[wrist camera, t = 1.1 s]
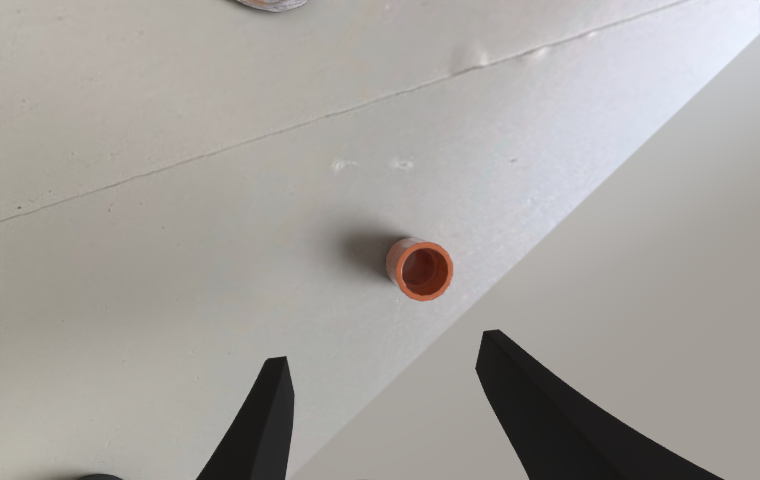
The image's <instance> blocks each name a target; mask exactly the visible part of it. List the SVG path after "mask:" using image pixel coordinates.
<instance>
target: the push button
mask: <svg viewBox="0 0 760 480" xmlns="http://www.w3.org/2000/svg"><path fill="white" fill-rule="evenodd" d="M78 480H122V479H119V478H117V477H114V476H110V475H91V476H87V477H83V478H81V479H78Z"/></svg>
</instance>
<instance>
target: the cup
mask: <svg viewBox="0 0 760 480" xmlns="http://www.w3.org/2000/svg"><path fill="white" fill-rule="evenodd" d="M385 264H386V272H387V274H388V276H389V278H390V279H391V280H392V281H393V282H394V284H395V285H396V286H397V287H398V288H399V289H400V290H401V291H402V292H403V293H404V294H406V295H407V296H408V297H409V298H411V299H414V300H418V301H428V300H433V299H435V298H437V297H438V296H440V295H442V294H443V293H444V292H445V290H446V289H447V288H448V287H449V285H450V283H451V280H452V277H453V263H452V260H451V258H450V256H449V254H448V252H447V251H445V250H444V249H443V248H442V247H441V246H439V245H437V244H434V243H431V242H428V241H424V240H421V239H417V238H405V239H402V240H400V241H398V242H396V243H395V244H394V245H393V246H392V247H391V249H390V250H389V252H388V254H387V257H386V261H385Z"/></svg>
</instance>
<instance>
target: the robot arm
mask: <svg viewBox="0 0 760 480" xmlns="http://www.w3.org/2000/svg"><path fill="white" fill-rule="evenodd" d="M475 369H476V371H477V374H478V377H479V379H480V382H481V385H482V387H483V389H484V392H485V394H486V396H487V399H488V401H489V402H490V404H491V406H492V408H493V410H494V412H495V414H496V416H497V418H498V419H499V422H500V423H501V425H502V427H503V429H504V431H505V433H506V435H507V436H508V438H509V440H510V442H511V444H512V446H513V448H514V449H515V451H516V453H517V455H518V457H519V459H520V461H521V463H522V465H523V467H524V469H525V471H526V473H527V475H528V477H529V480H724V479H722V478H720V477H718V476H716V475H714V474H712V473H710V472H708V471H707V470H705V469H703V468H701V467H699V466H697V465H695V464H693V463H691V462H690V461H688V460H686V459H684V458H682V457H680V456H678V455H677V454H675V453H673V452H671V451H670V450H668V449H666V448H665V447H663V446H661V445H659V444H658V443H656V442H654V441H653V440H651V439H649V438H647V437H646V436H644V435H642V434H641V433H639V432H637V431H636V430H634V429H633V428H631V427H629V426H628V425H626V424H625V423H623V422H621V421H620V420H618V419H617V418H615V417H614V416H612V415H611V414H609V413H608V412H606V411H604V410H603V409H602V408H600V407H599V406H597V405H596V404H594V403H593V402H591V401H590V400H588V399H587V398H586V397H584V396H583V395H581V394H580V393H579V392H577V391H576V390H575V389H573V388H572V387H570V386H569V385H568V384H566V383H565V382H564V381H562V380H561V379H560V378H558V377H557V376H556V375H555V374H553V373H552V372H551V371H550V370H548V369H547V368H546V367H544V366H543V365H542V364H541V363H539V362H538V361H537V360H536V359H534V358H533V357H532V356H531V355H529V354H528V353H527V352H526V351H525V350H523V349H522V348H521V347H520V346H519V345H517V344H516V343H515V342H514V341H513V340H511V339H510V338H509V337H508V336H506V335H505V334H504V333H503V332H501V331H500V330H490V331H484V332H483V336H482V341H481V345H480V350H479V354H478V359H477V363H476V368H475ZM293 415H294V390H293V385H292V380H291V376H290V371H289V366H288V362H287V357H286V356H284V357H276V358H268V359H267V360H266V361H265V363H264V365H263V367H262V369H261V371H260V373H259V375H258V377H257V379H256V381H255V383H254V385H253V387H252V389H251V391H250V393H249V394H248V396H247V398H246V400H245V402H244V403H243V405H242V407H241V409H240V410H239V412H238V414H237V416H236V417H235V419H234V421H233V423H232V424H231V426H230V428H229V429H228V431H227V433H226V434H225V436H224V437H223V439H222V440H221V442H220V444H219V445H218V447H217V448H216V450H215V452H214V453H213V455H212V456H211V458H210V459H209V461H208V462H207V464H206V465H205V467H204V468H203V470H202V471H201V473H200V474H199V476H198V477H197V479H196V480H285V476H286V469H287V463H288V456H289V450H290V443H291V436H292V429H293Z"/></svg>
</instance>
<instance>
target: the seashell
mask: <svg viewBox="0 0 760 480" xmlns="http://www.w3.org/2000/svg"><path fill="white" fill-rule="evenodd" d="M237 1H239V2H241V3H243V4H245V5H248V6H250V7H253V8H257V9H264V10H268V11H271V12H283V11H286V10H290V9H293V8H296V7H300V6H302V5H304V4H305V3H306V2H307V1H308V0H237Z"/></svg>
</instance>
